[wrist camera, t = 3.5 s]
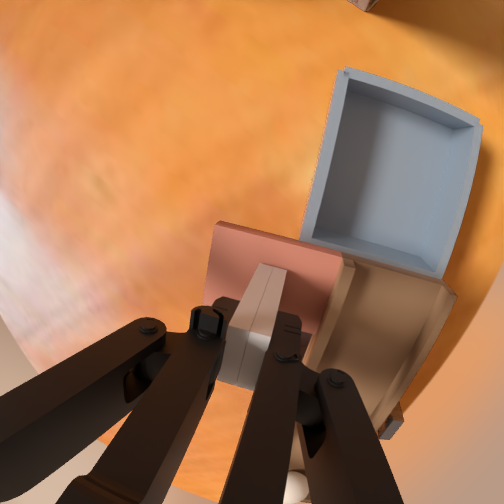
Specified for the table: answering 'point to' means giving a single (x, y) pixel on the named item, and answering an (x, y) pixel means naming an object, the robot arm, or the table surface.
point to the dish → (391, 174)
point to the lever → (340, 311)
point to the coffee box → (364, 4)
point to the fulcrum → (393, 418)
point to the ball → (295, 488)
